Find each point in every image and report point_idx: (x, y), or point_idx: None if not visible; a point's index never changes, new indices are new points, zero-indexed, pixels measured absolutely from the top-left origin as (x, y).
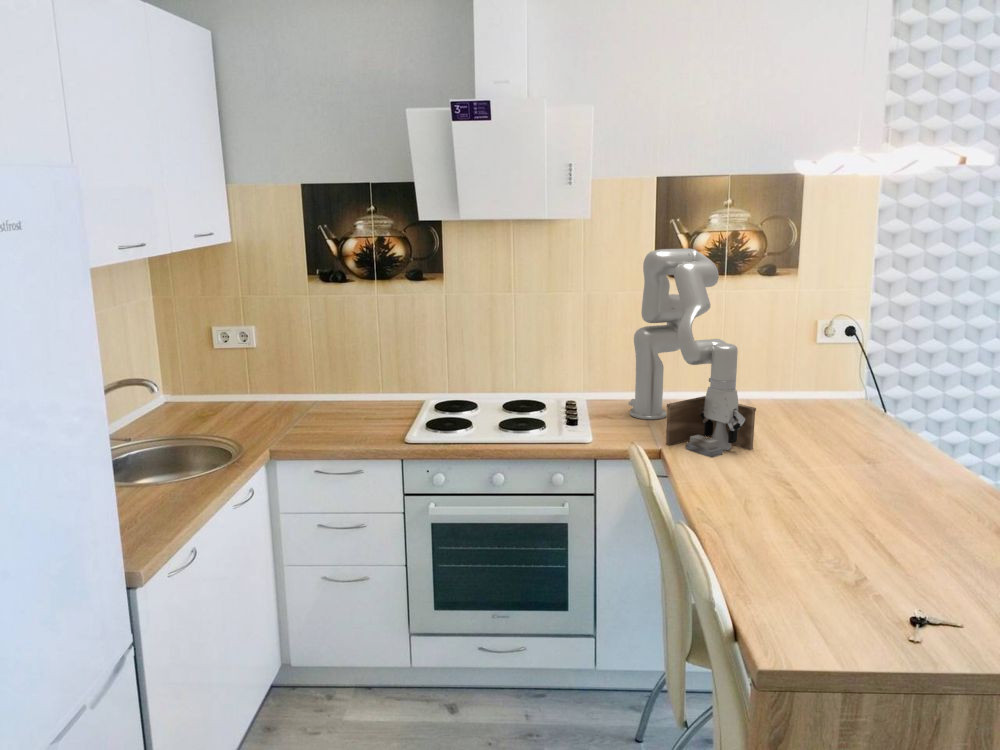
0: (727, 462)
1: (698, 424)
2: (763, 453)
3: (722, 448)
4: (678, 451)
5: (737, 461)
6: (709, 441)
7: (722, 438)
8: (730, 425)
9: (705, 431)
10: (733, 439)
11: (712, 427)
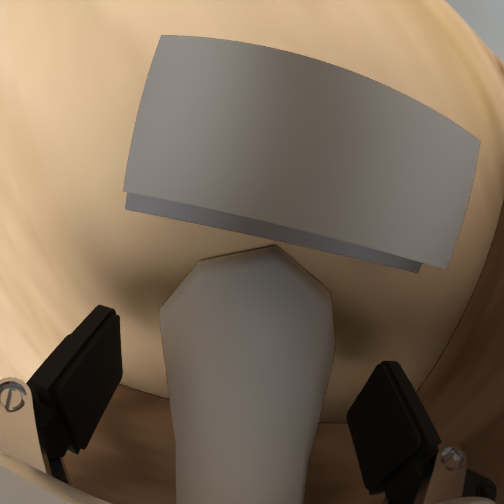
0: (55, 79)
1: (455, 437)
2: (46, 356)
3: (127, 207)
4: (434, 66)
5: (27, 144)
6: (192, 70)
7: (188, 352)
8: (10, 440)
9: (402, 386)
10: (67, 336)
11: (361, 456)
